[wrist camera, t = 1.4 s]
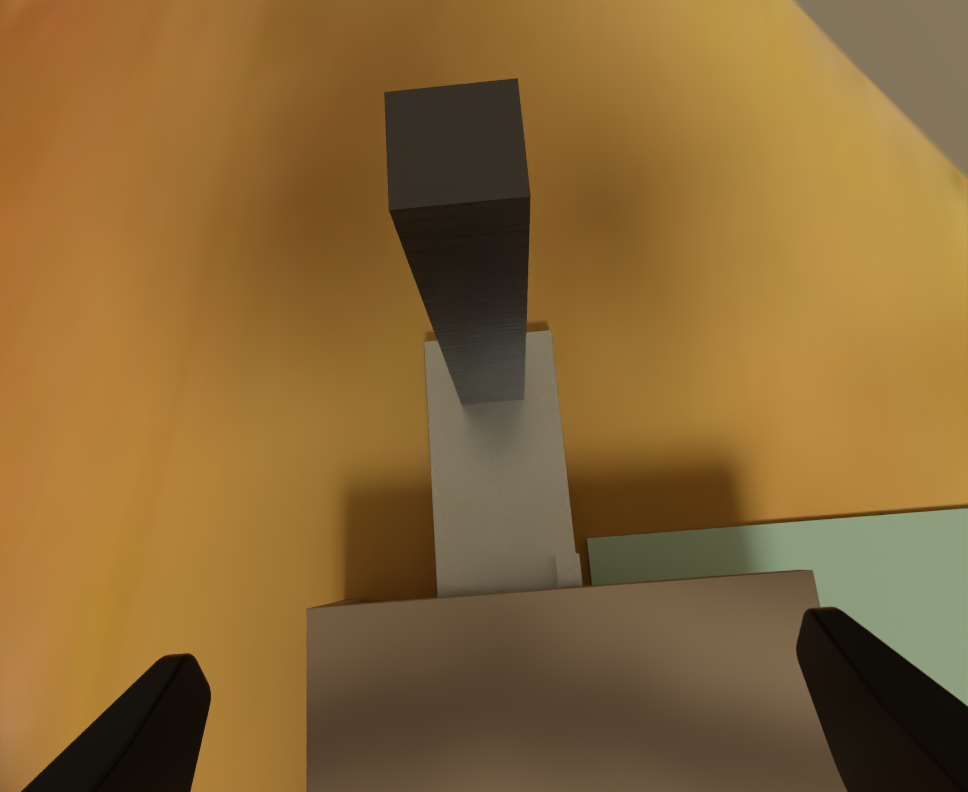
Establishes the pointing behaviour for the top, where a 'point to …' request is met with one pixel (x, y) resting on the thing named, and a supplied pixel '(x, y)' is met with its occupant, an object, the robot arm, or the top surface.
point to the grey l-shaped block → (481, 340)
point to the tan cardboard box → (569, 690)
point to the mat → (834, 574)
